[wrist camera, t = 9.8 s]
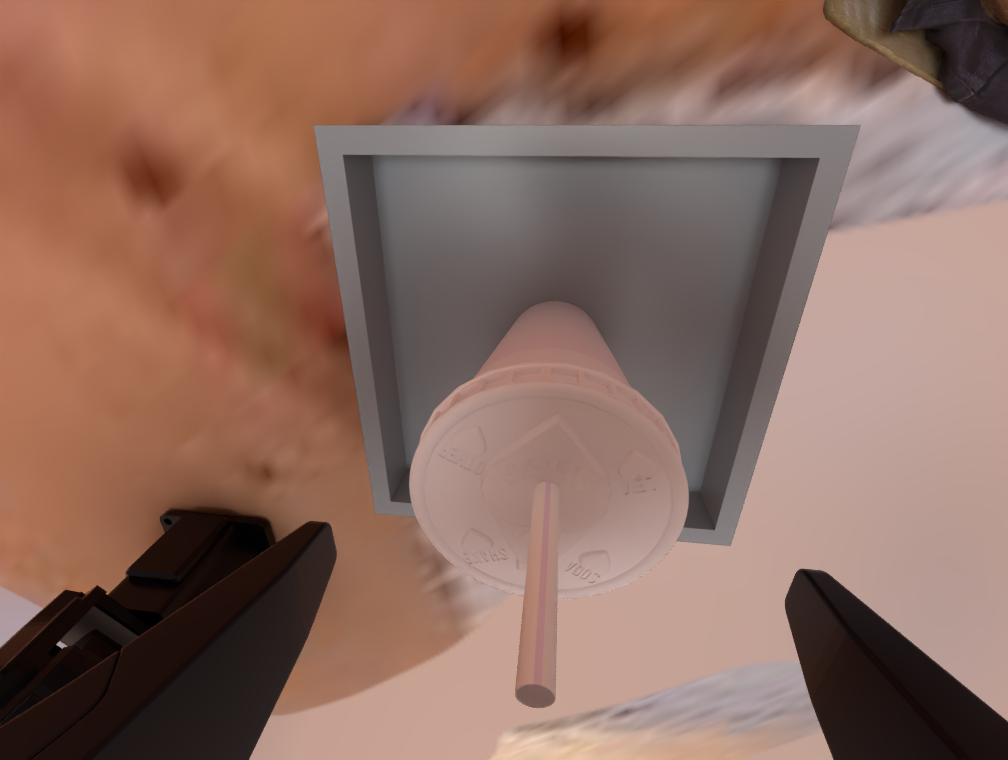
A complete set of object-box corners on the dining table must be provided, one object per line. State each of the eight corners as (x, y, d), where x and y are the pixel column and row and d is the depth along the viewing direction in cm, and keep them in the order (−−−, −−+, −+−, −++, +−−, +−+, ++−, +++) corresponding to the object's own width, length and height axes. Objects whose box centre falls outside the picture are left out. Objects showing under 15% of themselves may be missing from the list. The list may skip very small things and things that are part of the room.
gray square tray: (710, 498, 22) (730, 546, 20) (396, 472, 24) (375, 513, 21) (809, 129, 15) (860, 125, 12) (353, 128, 17) (313, 125, 14)
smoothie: (650, 277, 17) (866, 608, 5) (616, 421, 20) (695, 857, 8) (482, 257, 18) (286, 513, 5) (472, 401, 21) (330, 783, 8)
